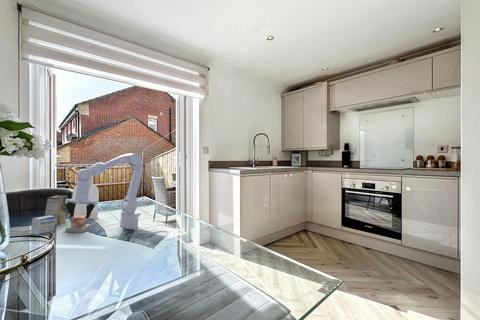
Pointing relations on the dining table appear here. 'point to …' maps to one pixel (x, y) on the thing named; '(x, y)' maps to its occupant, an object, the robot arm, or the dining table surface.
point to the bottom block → (77, 232)
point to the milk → (81, 208)
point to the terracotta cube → (78, 221)
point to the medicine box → (42, 225)
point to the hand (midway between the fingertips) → (79, 217)
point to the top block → (76, 229)
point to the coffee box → (57, 208)
